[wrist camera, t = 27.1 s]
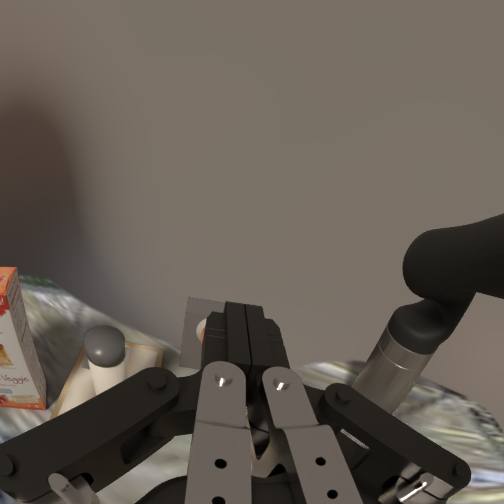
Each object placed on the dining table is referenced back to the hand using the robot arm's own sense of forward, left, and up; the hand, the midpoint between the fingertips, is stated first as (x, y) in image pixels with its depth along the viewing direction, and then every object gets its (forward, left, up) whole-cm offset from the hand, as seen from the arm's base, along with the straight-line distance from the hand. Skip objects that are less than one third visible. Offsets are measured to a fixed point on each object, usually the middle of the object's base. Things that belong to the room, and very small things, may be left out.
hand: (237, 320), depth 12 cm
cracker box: (+29, -9, -30) cm, 43 cm away
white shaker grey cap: (+11, -12, -28) cm, 33 cm away
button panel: (-2, -27, -30) cm, 40 cm away
